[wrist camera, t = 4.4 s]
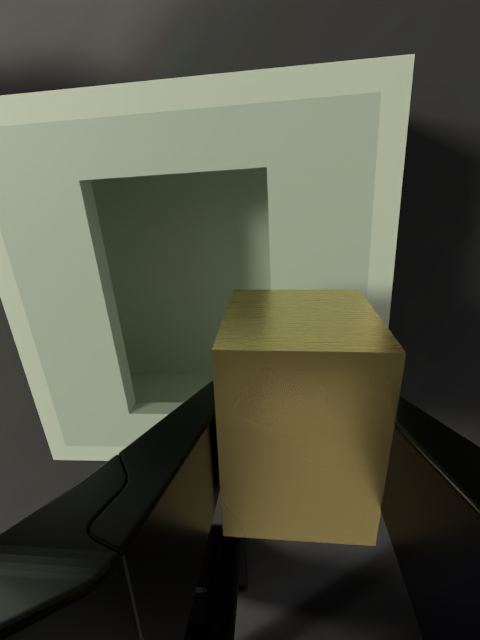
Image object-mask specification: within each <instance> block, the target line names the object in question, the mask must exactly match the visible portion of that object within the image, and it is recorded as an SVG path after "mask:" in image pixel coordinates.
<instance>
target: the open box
mask: <svg viewBox="0 0 480 640" xmlns="http://www.w3.org/2000/svg"><path fill="white" fill-rule="evenodd" d="M414 57H415V54H409V55H399V56H389V57H379V58H369V59H360V60H350V61H340V62H330V63H320V64H310V65H300V66H290V67H280V68H270V69H260V70H250V71H240V72H230V73H220V74H210V75H200V76H190V77H180V78H170V79H160V80H150V81H140V82H130V83H120V84H110V85H101V86H91V87H81V88H71V89H61V90H51V91H41V92H31V93H21V94H11V95H1V96H0V297H1V300H2V303H3V306H4V310H5V313H6V316H7V319H8V322H9V325H10V328H11V331H12V334H13V337H14V340H15V343H16V346H17V349H18V352H19V355H20V358H21V361H22V365H23V368H24V371H25V374H26V377H27V380H28V383H29V386H30V389H31V392H32V395H33V398H34V401H35V404H36V407H37V410H38V413H39V417H40V420H41V423H42V426H43V429H44V432H45V435H46V438H47V441H48V444H49V447H50V450H51V453H52V456H53V459H54V460H95V461H109V460H110V459H111V458H113V457H114V456H115V455H119V452H120V451H122V450H123V449H124V448H126V447H127V446H128V445H130V444H131V443H132V442H133V441H135V440H136V439H137V438H139V437H140V436H141V435H142V434H144V433H145V432H146V431H148V430H149V429H150V428H151V427H153V426H154V425H155V424H157V423H158V422H159V421H160V420H162V419H163V418H164V417H166V416H167V415H168V414H169V413H171V412H172V411H173V410H175V409H176V408H177V407H178V406H180V405H181V404H182V403H184V402H185V401H186V400H187V399H189V398H190V397H191V396H193V395H194V394H195V393H197V392H198V391H199V390H200V389H202V388H203V387H204V386H206V385H207V384H208V383H209V382H211V381H213V366H212V347H213V344H214V341H215V339H216V336H217V333H218V330H219V328H220V325H221V322H222V319H223V316H224V314H225V311H226V308H227V305H228V303H229V300H230V297H231V294H232V292H233V290H360V291H361V292H362V294H363V295H364V296H365V298H366V299H367V300H368V302H369V303H370V305H371V306H372V307H373V309H374V310H375V311H376V313H377V314H378V315H379V317H380V318H381V319H382V321H383V322H384V323H385V325H386V326H387V327H389V317H390V306H391V296H392V286H393V275H394V265H395V254H396V244H397V234H398V223H399V213H400V203H401V192H402V182H403V171H404V161H405V151H406V140H407V130H408V120H409V109H410V99H411V88H412V78H413V68H414Z"/></svg>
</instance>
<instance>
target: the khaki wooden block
mask: <svg viewBox="0 0 480 640" xmlns="http://www.w3.org/2000/svg"><path fill="white" fill-rule="evenodd" d="M405 358H406V352H405V350H404V349H403V348H402V346H401V345H400V344H399V342H398V341H397V340H396V338H395V337H394V336H393V334H392V333H391V331H390V330H389V329H388V327H387V326H386V325H385V323H384V322H383V321H382V319H381V318H380V317H379V315H378V314H377V313H376V311H375V310H374V309H373V307H372V306H371V305H370V303H369V302H368V300H367V299H366V298H365V296H364V295H363V294H362V292H361V291H360V290H233V292H232V294H231V297H230V300H229V303H228V305H227V308H226V311H225V314H224V316H223V319H222V322H221V325H220V328H219V330H218V333H217V336H216V339H215V341H214V344H213V347H212V366H213V382H214V398H215V414H216V430H217V446H218V462H219V478H220V494H221V510H222V526H223V536H228V537H244V538H259V539H275V540H291V541H306V542H322V543H338V544H353V545H369V546H375V544H376V538H377V532H378V526H379V520H380V513H381V507H382V501H383V495H384V489H385V482H386V476H387V470H388V464H389V458H390V451H391V445H392V439H393V433H394V427H395V420H396V414H397V408H398V402H399V396H400V389H401V383H402V377H403V371H404V365H405Z"/></svg>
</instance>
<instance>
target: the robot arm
mask: <svg viewBox="0 0 480 640" xmlns="http://www.w3.org/2000/svg"><path fill="white" fill-rule="evenodd" d="M219 491H220V478H219V462H218V446H217V430H216V414H215V398H214V382H213V381H211V382H209V383H208V384H207V385H206V386H204V387H203V388H202V389H200V390H199V391H198V392H197V393H195V394H194V395H193V396H191V397H190V398H189V399H187V400H186V401H185V402H184V403H182V404H181V405H180V406H178V407H177V408H176V409H175V410H173V411H172V412H171V413H169V414H168V415H167V416H166V417H164V418H163V419H162V420H160V421H159V422H158V423H157V424H155V425H154V426H153V427H151V428H150V429H149V430H148V431H146V432H145V433H144V434H142V435H141V436H140V437H139V438H137V439H136V440H135V441H133V442H132V443H131V444H130V445H128V446H127V447H126V448H124V449H123V450H122V451H120V452H119V455H115V456H114V457H113V458H111V459H110V460H109V461H107V462H106V463H105V464H104V465H102V466H101V467H100V468H98V469H97V470H95V471H94V472H93V473H91V474H90V475H89V476H87V477H86V478H85V479H83V480H82V481H80V482H79V483H78V484H76V485H75V486H73V487H72V488H70V489H69V490H67V491H66V492H64V493H63V494H61V495H60V496H58V497H57V498H55V499H54V500H52V501H51V502H49V503H48V504H46V505H45V506H43V507H42V508H40V509H39V510H37V511H36V512H34V513H32V514H31V515H29V516H28V517H26V518H25V519H23V520H22V521H20V522H19V523H17V524H16V525H14V526H13V527H11V528H9V529H8V530H6V531H5V532H3V533H2V534H0V640H234V632H235V621H236V610H237V598H238V592H245V591H247V588H248V578H247V567H246V555H245V543H244V537H228V536H223V529H220V528H211V524H212V520H213V516H214V512H215V507H216V503H217V499H218V495H219ZM381 512H382V515H383V518H384V521H385V524H386V527H387V530H388V533H389V536H390V539H391V542H392V546H393V549H394V552H395V555H396V558H397V561H398V564H399V567H400V570H401V573H402V576H403V579H404V582H405V585H406V588H407V591H408V594H409V597H410V600H411V603H412V606H413V610H414V613H415V616H416V619H417V622H418V625H419V628H420V631H421V634H422V637H423V640H480V447H479V446H477V445H475V444H474V443H472V442H471V441H469V440H468V439H466V438H464V437H463V436H461V435H460V434H458V433H457V432H455V431H454V430H452V429H450V428H449V427H447V426H446V425H444V424H443V423H441V422H439V421H438V420H436V419H435V418H433V417H432V416H430V415H428V414H427V413H425V412H424V411H422V410H421V409H419V408H417V407H416V406H414V405H413V404H411V403H410V402H408V401H407V400H405V399H403V398H402V397H400V396H399V402H398V408H397V414H396V420H395V427H394V433H393V439H392V445H391V451H390V458H389V464H388V470H387V476H386V482H385V489H384V495H383V501H382V507H381Z"/></svg>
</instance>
